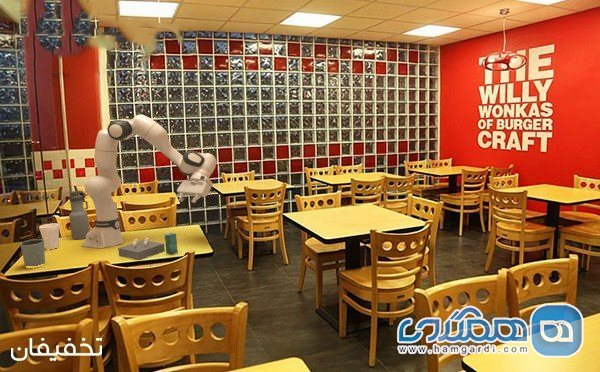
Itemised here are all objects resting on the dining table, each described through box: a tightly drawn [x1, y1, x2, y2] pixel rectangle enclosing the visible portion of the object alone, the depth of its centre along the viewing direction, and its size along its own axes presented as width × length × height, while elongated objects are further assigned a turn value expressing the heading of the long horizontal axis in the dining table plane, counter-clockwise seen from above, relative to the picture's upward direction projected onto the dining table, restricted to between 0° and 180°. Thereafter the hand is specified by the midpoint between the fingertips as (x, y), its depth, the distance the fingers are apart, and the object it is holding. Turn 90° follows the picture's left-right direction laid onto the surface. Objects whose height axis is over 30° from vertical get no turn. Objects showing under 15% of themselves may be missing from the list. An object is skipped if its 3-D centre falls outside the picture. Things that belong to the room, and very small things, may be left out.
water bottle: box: [68, 190, 90, 241], centre depth 267 cm, size 10×10×28 cm
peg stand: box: [117, 237, 166, 261], centre depth 233 cm, size 16×16×7 cm
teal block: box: [164, 232, 179, 256], centre depth 231 cm, size 4×4×10 cm
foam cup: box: [38, 222, 60, 250], centre depth 248 cm, size 10×9×13 cm
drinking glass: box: [20, 238, 46, 267], centre depth 220 cm, size 10×10×12 cm
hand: (186, 201), depth 237 cm, fingers open, 8 cm apart
